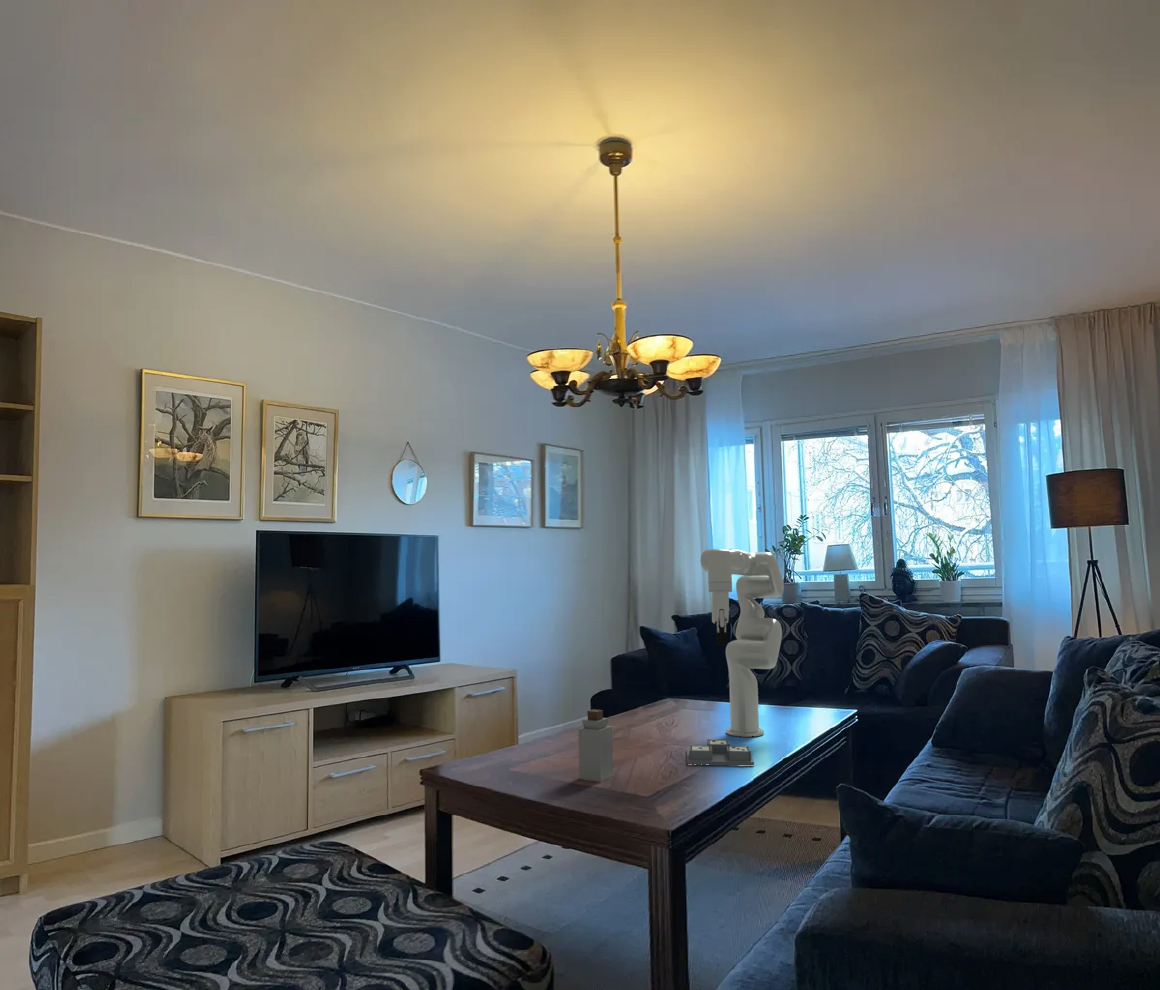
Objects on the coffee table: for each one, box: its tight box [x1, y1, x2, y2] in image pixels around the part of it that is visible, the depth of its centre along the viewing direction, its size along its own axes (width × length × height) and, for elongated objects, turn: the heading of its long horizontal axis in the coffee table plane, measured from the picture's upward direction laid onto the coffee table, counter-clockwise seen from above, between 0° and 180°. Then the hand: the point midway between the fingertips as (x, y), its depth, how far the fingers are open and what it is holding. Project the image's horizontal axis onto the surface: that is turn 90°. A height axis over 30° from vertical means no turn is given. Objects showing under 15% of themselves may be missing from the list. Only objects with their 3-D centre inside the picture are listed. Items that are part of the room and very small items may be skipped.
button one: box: [691, 745, 709, 750], centre depth 233 cm, size 5×5×2 cm
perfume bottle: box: [578, 708, 614, 783], centre depth 218 cm, size 7×7×18 cm
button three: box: [729, 747, 748, 751], centre depth 232 cm, size 5×5×2 cm
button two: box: [708, 739, 727, 744], centre depth 241 cm, size 5×5×2 cm
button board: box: [686, 739, 755, 766], centre depth 237 cm, size 18×19×4 cm
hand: (721, 645), depth 253 cm, fingers closed
